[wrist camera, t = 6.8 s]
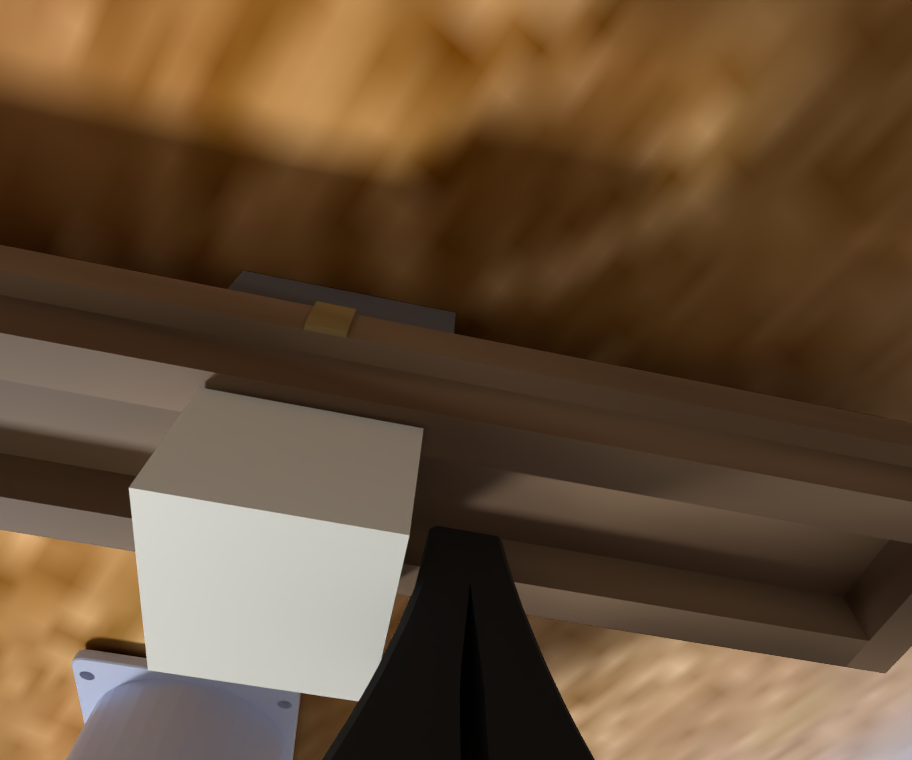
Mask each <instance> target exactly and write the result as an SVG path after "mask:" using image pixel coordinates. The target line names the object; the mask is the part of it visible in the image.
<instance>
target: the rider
mask: <svg viewBox="0 0 912 760" xmlns="http://www.w3.org/2000/svg"><path fill="white" fill-rule="evenodd" d="M423 430H424V428H418V427H413V426H408V425H402V424H397V423H391V422H386V421H380V420H375V419H369V418H364V417H358V416H353V415H347V414H342V413H337V412H331V411H326V410H320V409H315V408H309V407H304V406H298V405H293V404H287V403H282V402H277V401H271V400H266V399H260V398H255V397H249V396H244V395H238V394H233V393H227V392H222V391H217V390H211V389H206V388H200V387H199V389H198V390H197V392H196V393H195V394H194V396H193V397H192V399H191V400H190V401H189V403H188V404H187V406H186V407H185V409H184V410H183V411H182V413H181V414H180V416H179V417H178V418H177V420H176V421H175V423H174V424H173V426H172V427H171V428H170V430H169V431H168V433H167V434H166V436H165V437H164V438H163V440H162V441H161V443H160V444H159V445H158V447H157V448H156V450H155V451H154V453H153V454H152V455H151V457H150V458H149V460H148V461H147V462H146V464H145V465H144V467H143V468H142V470H141V471H140V472H139V474H138V475H137V477H136V478H135V479H134V481H133V482H132V484H131V485H130V487H129V495H130V505H131V514H132V524H133V533H134V543H135V552H136V562H137V571H138V581H139V590H140V600H141V609H142V619H143V628H144V638H145V647H146V657H147V666H148V670H150V671H157V672H164V673H170V674H177V675H184V676H191V677H197V678H204V679H211V680H218V681H224V682H231V683H238V684H245V685H251V686H258V687H265V688H272V689H278V690H285V691H292V692H298V693H305V694H312V695H319V696H325V697H332V698H339V699H346V700H352V701H359V700H360V698H361V696H362V695H363V693H364V691H365V689H366V687H367V686H368V684H369V682H370V680H371V678H372V677H373V675H374V673H375V671H376V669H377V667H378V666H379V664H380V662H381V658H382V654H383V649H384V645H385V640H386V636H387V632H388V627H389V623H390V619H391V614H392V610H393V605H394V601H395V597H396V592H397V588H398V584H399V579H400V575H401V570H402V566H403V562H404V557H405V553H406V549H407V544H408V540H409V535H410V528H411V520H412V513H413V505H414V498H415V490H416V482H417V475H418V467H419V460H420V452H421V445H422V437H423Z"/></svg>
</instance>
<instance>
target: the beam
mask: <svg viewBox="0 0 912 760" xmlns="http://www.w3.org/2000/svg"><path fill="white" fill-rule="evenodd" d="M455 315H456V313H455V312H450V311H445V310H440V309H435V308H430V307H424V306H419V305H414V304H409V303H404V302H399V301H394V300H389V299H384V298H379V297H374V296H369V295H364V294H359V293H354V292H349V291H344V290H339V289H334V288H329V287H324V286H319V285H314V284H309V283H303V282H298V281H293V280H288V279H283V278H278V277H273V276H268V275H263V274H258V273H253V272H248V271H242V272H241V273H240V275H239V276H238V277H237V278H236V279H235V281H234V282H233V283H232V284H231V285H230V286H229V288H228V289H224V288H219V287H214V286H209V285H203V284H198V283H193V282H188V281H183V280H178V279H173V278H168V277H163V276H157V275H152V274H147V273H142V272H137V271H132V270H127V269H122V268H117V267H111V266H106V265H101V264H96V263H91V262H86V261H81V260H76V259H71V258H66V257H60V256H55V255H50V254H45V253H40V252H35V251H30V250H25V249H20V248H14V247H9V246H4V245H0V530H5V531H11V532H17V533H23V534H30V535H36V536H42V537H48V538H54V539H60V540H67V541H73V542H79V543H85V544H91V545H97V546H104V547H110V548H116V549H122V550H128V551H134V552H135V543H134V533H133V524H132V514H131V505H130V495H129V487H130V485H131V484H132V482H133V481H134V479H135V478H136V477H137V475H138V474H139V472H140V471H141V470H142V468H143V467H144V465H145V464H146V462H147V461H148V460H149V458H150V457H151V455H152V454H153V453H154V451H155V450H156V448H157V447H158V445H159V444H160V443H161V441H162V440H163V438H164V437H165V436H166V434H167V433H168V431H169V430H170V428H171V427H172V426H173V424H174V423H175V421H176V420H177V418H178V417H179V416H180V414H181V413H182V411H183V410H184V409H185V407H186V406H187V404H188V403H189V401H190V400H191V399H192V397H193V396H194V394H195V393H196V392H197V390H198V389H199V387H200V388H206V389H211V390H217V391H222V392H227V393H233V394H238V395H244V396H249V397H255V398H260V399H266V400H271V401H277V402H282V403H287V404H293V405H298V406H304V407H309V408H315V409H320V410H326V411H331V412H337V413H342V414H347V415H353V416H358V417H364V418H369V419H375V420H380V421H386V422H391V423H397V424H402V425H408V426H413V427H418V428H424V430H423V437H422V445H421V452H420V460H419V467H418V475H417V482H416V490H415V498H414V505H413V513H412V520H411V528H410V535H409V540H408V544H407V549H406V553H405V557H404V562H403V566H402V570H401V575H400V579H399V584H398V588H397V592H396V594H399V595H405V596H411V595H412V593H413V590H414V588H415V584H416V580H417V576H418V572H419V568H420V564H421V560H422V556H423V552H424V548H425V544H426V540H427V536H428V532H429V529H430V528H433V527H435V526H442V527H448V528H453V529H459V530H465V531H471V532H477V533H482V534H488V535H494V536H498V537H499V538H500V539H501V541H502V543H503V547H504V551H505V554H506V558H507V561H508V564H509V568H510V571H511V574H512V577H513V580H514V583H515V586H516V589H517V592H518V595H519V597H520V600H521V603H522V606H523V609H524V611H525V614H526V615H529V616H535V617H541V618H547V619H553V620H559V621H566V622H572V623H578V624H584V625H590V626H596V627H603V628H609V629H615V630H621V631H627V632H633V633H640V634H646V635H652V636H658V637H664V638H670V639H677V640H683V641H689V642H695V643H701V644H707V645H713V646H720V647H726V648H732V649H738V650H744V651H750V652H757V653H763V654H769V655H775V656H781V657H787V658H794V659H800V660H806V661H812V662H818V663H824V664H831V665H837V666H843V667H849V668H855V669H861V670H868V671H874V672H880V673H886V672H887V671H888V670H889V669H890V668H891V667H892V666H893V665H894V664H895V663H896V662H897V661H898V660H899V659H900V658H901V657H902V656H903V655H904V654H905V653H906V652H907V650H908V649H909V648H910V647H911V646H912V423H908V422H903V421H898V420H893V419H888V418H883V417H878V416H873V415H867V414H862V413H857V412H852V411H847V410H842V409H837V408H832V407H827V406H822V405H816V404H811V403H806V402H801V401H796V400H791V399H786V398H781V397H776V396H770V395H765V394H760V393H755V392H750V391H745V390H740V389H735V388H730V387H724V386H719V385H714V384H709V383H704V382H699V381H694V380H689V379H684V378H678V377H673V376H668V375H663V374H658V373H653V372H648V371H643V370H638V369H633V368H627V367H622V366H617V365H612V364H607V363H602V362H597V361H592V360H587V359H581V358H576V357H571V356H566V355H561V354H556V353H551V352H546V351H541V350H535V349H530V348H525V347H520V346H515V345H510V344H505V343H500V342H495V341H489V340H484V339H479V338H474V337H469V336H464V335H459V334H454V327H455Z"/></svg>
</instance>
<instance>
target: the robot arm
mask: <svg viewBox="0 0 912 760" xmlns="http://www.w3.org/2000/svg"><path fill="white" fill-rule="evenodd" d="M72 668H73V672H74V677H75V682H76V686H77V691H78V696H79V700H80V705H81V710H82V714H83V719H84V724H85V725H84V727H83V729H82V731H81V733H80V735H79V736H78V738H77V740H76V742H75V744H74V746H73V748H72V749H71V751H70V753H69V755H68V757H67V759H66V760H293V756H294V748H295V740H296V731H297V723H298V715H299V706H300V698H301V693H298V692H292V691H285V690H278V689H272V688H265V687H258V686H251V685H245V684H238V683H231V682H224V681H218V680H211V679H204V678H197V677H191V676H184V675H177V674H170V673H164V672H157V671H150V670H148V666H147V658H143V657H136V656H129V655H122V654H116V653H109V652H102V651H96V650H81V651H79V652H78V653H77V654H76V656H75V657H74V659H73V661H72ZM322 760H595V759H594V758H593V756H592V754H591V752H590V750H589V749H588V747H587V745H586V743H585V741H584V740H583V738H582V736H581V734H580V732H579V730H578V728H577V727H576V725H575V723H574V721H573V719H572V717H571V715H570V713H569V711H568V709H567V707H566V705H565V703H564V701H563V699H562V697H561V695H560V693H559V690H558V688H557V686H556V684H555V682H554V680H553V678H552V676H551V674H550V671H549V669H548V667H547V665H546V662H545V660H544V658H543V656H542V653H541V651H540V648H539V646H538V644H537V641H536V639H535V636H534V634H533V631H532V629H531V626H530V624H529V622H528V619H527V616H526V614H525V611H524V609H523V606H522V603H521V600H520V597H519V595H518V592H517V589H516V586H515V583H514V580H513V577H512V574H511V571H510V568H509V564H508V561H507V558H506V554H505V551H504V547H503V543H502V541H501V539H500V538H499V537H498V536H494V535H488V534H482V533H477V532H471V531H465V530H459V529H453V528H448V527H442V526H435V527H433V528H430V529H429V532H428V536H427V540H426V544H425V548H424V552H423V556H422V560H421V564H420V568H419V572H418V576H417V580H416V584H415V588H414V590H413V593H412V595H411V597H410V600H409V602H408V604H407V607H406V609H405V612H404V614H403V616H402V619H401V621H400V623H399V625H398V628H397V630H396V632H395V634H394V636H393V638H392V640H391V642H390V644H389V646H388V648H387V650H386V652H385V654H384V656H383V658H382V660H381V662H380V664H379V666H378V667H377V669H376V671H375V673H374V675H373V677H372V678H371V680H370V682H369V684H368V686H367V687H366V689H365V691H364V693H363V695H362V696H361V698H360V700H359V701H358V703H357V705H356V706H355V708H354V710H353V712H352V713H351V715H350V717H349V718H348V720H347V722H346V723H345V725H344V726H343V728H342V730H341V731H340V733H339V734H338V736H337V737H336V739H335V741H334V742H333V744H332V745H331V747H330V748H329V750H328V752H327V753H326V755H325V756H324V758H323V759H322Z"/></svg>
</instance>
